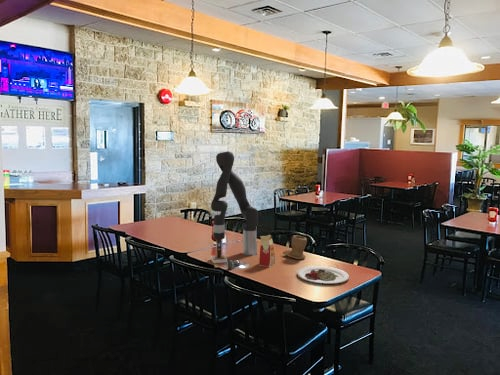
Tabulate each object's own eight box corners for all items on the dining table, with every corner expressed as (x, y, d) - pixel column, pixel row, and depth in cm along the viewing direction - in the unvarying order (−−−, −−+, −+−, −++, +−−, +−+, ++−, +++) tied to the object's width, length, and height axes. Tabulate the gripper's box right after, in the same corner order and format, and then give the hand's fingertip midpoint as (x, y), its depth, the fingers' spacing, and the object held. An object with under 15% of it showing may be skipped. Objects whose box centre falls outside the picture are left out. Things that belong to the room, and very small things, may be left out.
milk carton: (275, 264, 263) (276, 233, 260) (270, 268, 254) (270, 236, 252) (262, 262, 267) (263, 232, 264) (256, 266, 258) (257, 235, 256)
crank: (235, 263, 260) (235, 255, 259) (241, 264, 258) (241, 256, 258) (225, 269, 249) (225, 260, 248) (232, 270, 247) (232, 261, 246)
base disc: (245, 261, 267) (245, 259, 267) (252, 269, 252) (252, 266, 252) (212, 263, 261) (212, 261, 261) (217, 271, 246) (217, 269, 246)
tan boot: (309, 258, 276) (310, 236, 274) (297, 261, 269) (297, 239, 267) (294, 253, 288) (295, 232, 286) (281, 255, 281) (282, 234, 279)
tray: (224, 258, 272) (224, 255, 272) (227, 263, 263) (227, 259, 263) (210, 259, 270) (210, 256, 269) (213, 264, 261) (213, 260, 260)
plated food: (358, 277, 240) (359, 272, 240) (329, 290, 220) (329, 284, 219) (317, 265, 262) (317, 260, 261) (286, 276, 241) (286, 270, 241)
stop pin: (221, 259, 269) (221, 247, 268) (222, 261, 265) (222, 249, 264) (215, 259, 268) (215, 248, 267) (216, 261, 264) (216, 249, 263)
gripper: (213, 228, 271) (213, 253, 273) (213, 233, 256) (213, 259, 258) (224, 228, 271) (224, 253, 273) (225, 233, 257) (225, 259, 259)
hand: (218, 256), depth 266 cm, fingers open, 6 cm apart
